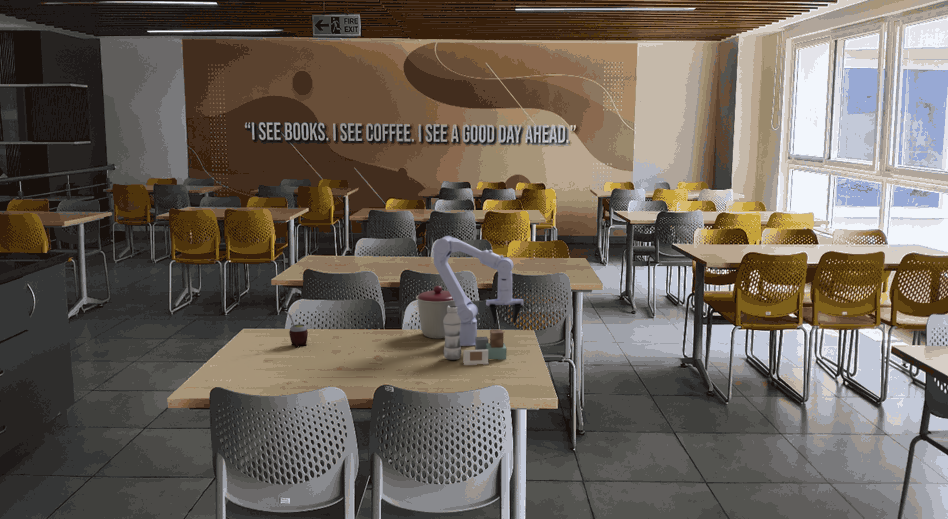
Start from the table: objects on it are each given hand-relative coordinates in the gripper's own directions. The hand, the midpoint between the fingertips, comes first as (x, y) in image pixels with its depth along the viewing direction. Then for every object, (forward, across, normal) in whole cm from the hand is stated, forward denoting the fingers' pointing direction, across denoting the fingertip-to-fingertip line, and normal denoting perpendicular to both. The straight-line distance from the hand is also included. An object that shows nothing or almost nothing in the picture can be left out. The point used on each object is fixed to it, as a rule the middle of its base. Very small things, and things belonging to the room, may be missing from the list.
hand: (504, 322), depth 280 cm
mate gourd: (+10, -81, +9) cm, 82 cm away
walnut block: (+5, -5, -14) cm, 16 cm away
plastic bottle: (+10, -22, -15) cm, 28 cm away
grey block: (+10, -10, -8) cm, 16 cm away
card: (+9, -14, -21) cm, 27 cm away
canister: (+10, -25, +18) cm, 32 cm away
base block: (+10, -5, -14) cm, 18 cm away
